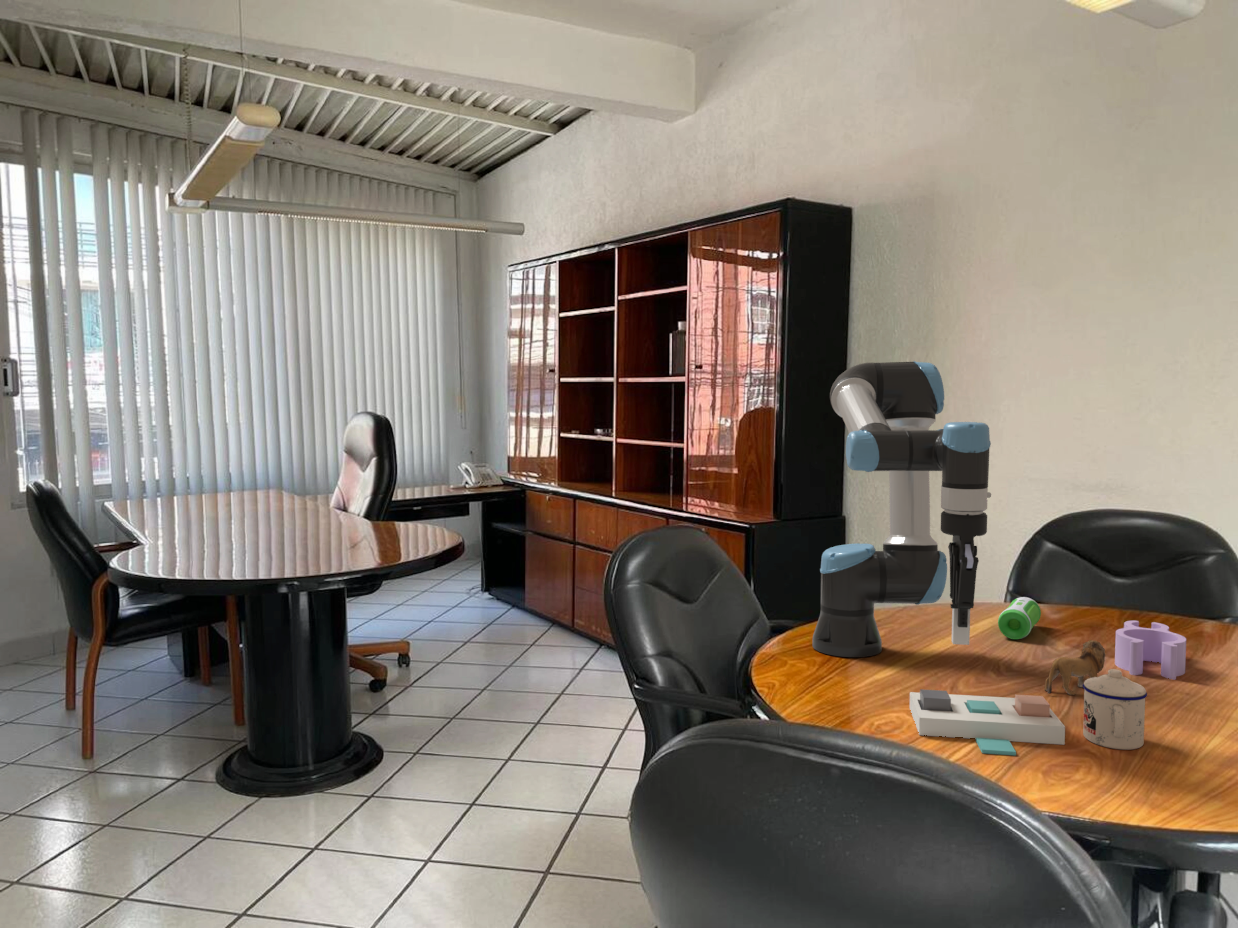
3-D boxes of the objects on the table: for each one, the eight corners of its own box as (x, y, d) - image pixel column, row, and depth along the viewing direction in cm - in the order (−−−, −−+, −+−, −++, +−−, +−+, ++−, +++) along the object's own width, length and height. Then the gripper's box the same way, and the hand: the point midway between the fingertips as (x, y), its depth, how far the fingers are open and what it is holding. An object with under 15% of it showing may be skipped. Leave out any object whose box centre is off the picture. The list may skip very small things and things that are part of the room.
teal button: (966, 717, 151) (966, 699, 151) (993, 719, 150) (993, 701, 150) (971, 726, 147) (971, 708, 147) (999, 728, 146) (999, 710, 146)
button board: (909, 708, 157) (909, 691, 157) (1042, 715, 153) (1042, 699, 153) (919, 734, 145) (919, 717, 144) (1064, 744, 140) (1065, 726, 140)
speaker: (1009, 623, 217) (1010, 593, 217) (1041, 627, 213) (1042, 596, 212) (995, 639, 203) (996, 607, 202) (1029, 643, 199) (1030, 611, 198)
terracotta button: (1014, 712, 150) (1015, 694, 149) (1042, 714, 149) (1042, 695, 148) (1021, 721, 145) (1021, 703, 145) (1049, 723, 144) (1049, 704, 144)
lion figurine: (1086, 680, 172) (1087, 635, 171) (1112, 688, 167) (1113, 642, 167) (1036, 692, 165) (1037, 646, 165) (1061, 700, 161) (1062, 653, 160)
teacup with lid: (1079, 726, 148) (1081, 659, 147) (1140, 734, 144) (1143, 665, 143) (1085, 752, 137) (1087, 680, 136) (1152, 761, 133) (1155, 687, 132)
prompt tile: (975, 740, 142) (975, 737, 142) (1008, 743, 141) (1008, 739, 141) (982, 753, 137) (982, 749, 137) (1016, 755, 136) (1016, 751, 136)
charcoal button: (919, 706, 153) (920, 689, 153) (946, 708, 152) (946, 690, 152) (923, 715, 148) (923, 697, 148) (950, 717, 148) (950, 699, 147)
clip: (1111, 648, 194) (1112, 618, 194) (1177, 655, 189) (1178, 624, 188) (1116, 674, 176) (1117, 640, 176) (1189, 682, 171) (1190, 647, 170)
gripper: (995, 517, 144) (991, 655, 146) (978, 505, 156) (974, 633, 159) (948, 516, 145) (944, 653, 147) (934, 505, 158) (931, 631, 160)
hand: (960, 642), depth 153 cm, fingers closed
